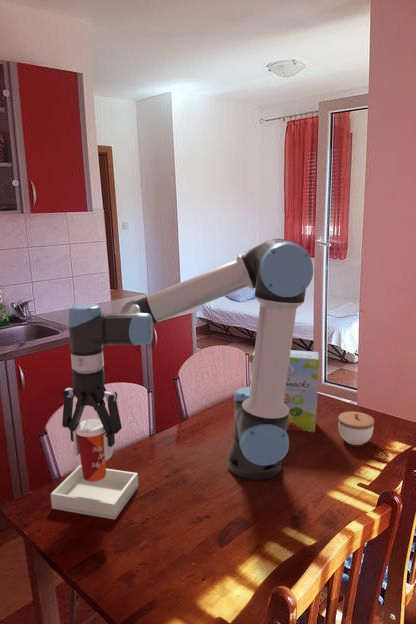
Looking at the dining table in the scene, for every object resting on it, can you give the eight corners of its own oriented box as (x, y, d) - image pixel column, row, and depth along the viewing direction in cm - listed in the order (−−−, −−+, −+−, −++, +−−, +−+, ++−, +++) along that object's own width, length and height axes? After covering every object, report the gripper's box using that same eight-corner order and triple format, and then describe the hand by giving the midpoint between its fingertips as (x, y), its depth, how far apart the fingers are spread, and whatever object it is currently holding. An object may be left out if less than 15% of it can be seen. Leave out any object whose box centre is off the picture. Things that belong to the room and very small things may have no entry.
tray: (138, 486, 127) (137, 473, 126) (114, 519, 114) (113, 504, 113) (81, 477, 131) (80, 464, 130) (51, 508, 118) (50, 493, 117)
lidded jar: (377, 449, 145) (379, 421, 143) (341, 449, 145) (343, 421, 143) (366, 433, 155) (368, 406, 153) (333, 433, 155) (335, 406, 153)
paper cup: (102, 485, 117) (99, 432, 114) (73, 482, 118) (69, 430, 115) (115, 468, 124) (112, 418, 121) (87, 465, 126) (84, 416, 123)
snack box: (249, 427, 160) (250, 354, 154) (253, 416, 168) (253, 346, 163) (316, 434, 155) (319, 358, 150) (316, 422, 164) (319, 350, 158)
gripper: (41, 370, 114) (49, 457, 119) (120, 377, 109) (124, 468, 114) (59, 360, 121) (65, 443, 126) (133, 367, 116) (137, 453, 121)
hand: (93, 454), depth 120 cm, fingers closed on paper cup, 8 cm apart
